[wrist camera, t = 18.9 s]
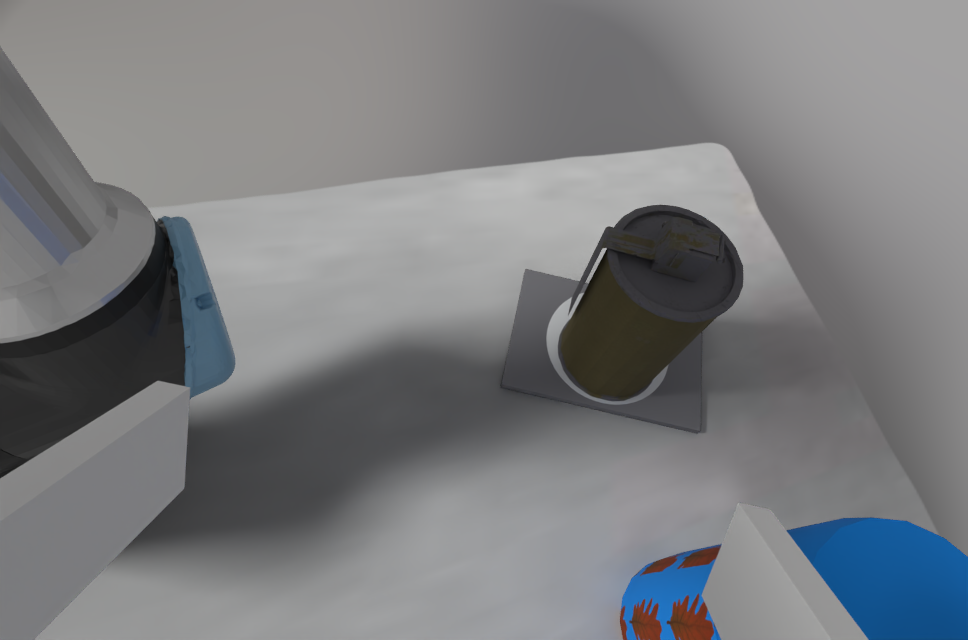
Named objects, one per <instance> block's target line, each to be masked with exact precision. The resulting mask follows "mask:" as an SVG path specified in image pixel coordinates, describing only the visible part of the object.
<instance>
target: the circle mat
mask: <svg viewBox="0 0 968 640" xmlns="http://www.w3.org/2000/svg"><path fill="white" fill-rule="evenodd" d="M578 284H579V281H575V280H571V279H567V278H562V277H558V276H554V275H550V274H545V273H541V272H537V271H532V270H528V269H526V270H525V273H524V278H523V282H522V287H521V292H520V297H519V302H518V306H517V311H516V316H515V321H514V326H513V330H512V335H511V340H510V345H509V350H508V354H507V359H506V364H505V369H504V374H503V378H502V383H501V387H502V388H506V389H511V390H515V391H519V392H523V393H528V394H532V395H536V396H540V397H545V398H549V399H553V400H557V401H562V402H566V403H570V404H574V405H578V406H583V407H587V408H591V409H595V410H600V411H604V412H608V413H612V414H617V415H621V416H625V417H629V418H634V419H638V420H642V421H646V422H651V423H655V424H659V425H663V426H667V427H672V428H676V429H680V430H684V431H689V432H693V433H698V432H700V431H701V368H702V332H701V333H700V334H699V335H698V336H697V337H696V338H695V339H694V340H693V341H692V342H691V343H690V344H689V345H688V346H687V347H686V348H685V349H684V350H683V351H682V352H681V353H679V354H678V355H677V356H676V357H675V358H674V359H673V360H672V361H671V362H670V363H669V364H668V365H667V366H666V367H665V368H664V369H663V370H662V371H661V372H660V373H659V374H658V375H657V376H656V377H655V378H654V379H653V381H652V383H651V384H650V385H649V387H648V388H647V389H646V390H645V391H644V392H642V393H641V394H639V395H638V396H635V397H633V398H630V399H627V400H625V401H607V400H603V399H600V398H595V397H592V396H590V395H588V394H587V393H585V392H584V391H582V390H581V389H579V388H578V387H577V386H576V385H574V384H573V383H572V381H571V380H570V379H569V378H568V376H567V375H566V373H565V372H564V371H563V368H562V365H561V362H560V359H559V356H558V341H559V336H560V333H561V331H562V329H563V327H564V326H565V324H566V323H567V322H568V320H570V319H571V317H572V315H573V313H574V311H575V309H576V307H577V305H578V304H579V302H580V300H581V298H582V296H583V294H584V292H585V290H586V288H587V286H588V283H585V284H584V286H583V288H582V290H581V292H580V293H579V295H578V297H577V299H576V301H575V303H574V305H573V307H572V309H571V311H570V313H569V308H570V304H571V299H572V296H573V294H574V292H575V290H576V288H577V286H578ZM568 313H569V315H568Z"/></svg>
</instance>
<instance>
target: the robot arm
mask: <svg viewBox="0 0 968 640" xmlns="http://www.w3.org/2000/svg"><path fill="white" fill-rule="evenodd" d="M234 368H235V355H234V351H233V348H232V345H231V341H230V338H229V335H228V332H227V329H226V326H225V323H224V320H223V316H222V313H221V310H220V307H219V304H218V301H217V298H216V295H215V292H214V289H213V286H212V284H211V281H210V278H209V275H208V272H207V269H206V266H205V263H204V260H203V257H202V254H201V252H200V249H199V246H198V243H197V240H196V238H195V235H194V232H193V230H192V228H191V226H190V223H189V222H188V221H187V220H186V219H185V218H183V217H172V218H170V217H166V216H164V217H162V218H158V220H157V222H156V221H155V219H154V218H153V216H152V215H151V213H150V211H149V210H148V209H147V207H146V206H145V205H144V204H143V203H142V201H141V200H140V199H139V198H138V197H136V196H135V195H133V194H132V193H131V192H128V191H126V190H124V189H122V188H119V187H116V186H113V185H109V184H104V183H99V182H94V181H93V179H92V178H91V176H90V175H89V173H88V172H87V171H86V169H85V168H84V166H83V165H82V163H81V162H80V160H79V159H78V158H77V156H76V155H75V153H74V152H73V151H72V149H71V147H70V146H69V145H68V143H67V142H66V140H65V139H64V137H63V136H62V134H61V133H60V132H59V130H58V129H57V128H56V126H55V124H54V123H53V121H52V120H51V119H50V117H49V116H48V114H47V113H46V112H45V110H44V109H43V107H42V106H41V104H40V103H39V101H38V100H37V98H36V97H35V96H34V94H33V93H32V91H31V90H30V89H29V87H28V85H27V84H26V83H25V81H24V80H23V78H22V77H21V76H20V74H19V73H18V71H17V70H16V68H15V67H14V65H13V64H12V62H11V61H10V59H9V58H8V57H7V55H6V54H5V52H4V51H3V49H2V48H1V47H0V640H34V639H35V638H36V637H37V636H38V635H39V634H40V633H41V632H42V631H43V630H44V629H45V628H46V627H47V626H48V625H49V624H50V623H51V622H52V621H53V620H54V619H55V618H56V617H57V616H58V615H59V614H60V613H61V612H62V611H63V610H64V609H65V608H66V607H67V606H68V605H69V604H70V603H71V602H72V601H73V600H74V599H75V598H76V597H77V596H78V595H79V594H80V593H81V592H82V591H83V590H84V589H85V588H86V587H87V586H88V585H89V584H90V583H91V582H92V581H93V580H94V579H95V578H96V577H97V576H98V575H99V574H100V573H101V572H102V571H103V570H104V569H105V568H106V567H107V566H108V565H109V564H110V563H111V562H112V561H113V560H114V559H115V558H116V557H117V556H118V555H119V554H120V553H121V552H122V551H123V550H124V549H125V548H126V547H127V546H128V545H129V544H130V543H131V542H132V541H133V540H134V539H135V538H136V537H137V536H138V535H139V534H140V533H141V532H142V531H143V529H144V528H145V527H146V526H147V525H148V524H149V523H150V522H151V521H152V520H153V519H154V518H155V517H156V516H157V515H158V514H159V513H160V512H161V511H162V510H163V509H164V508H165V507H166V506H167V505H168V504H169V503H170V502H171V501H172V500H173V499H174V498H175V497H176V496H177V495H178V494H179V493H180V492H181V491H182V490H183V489H184V488H185V470H186V453H187V436H188V418H189V401H190V399H191V398H192V397H194V396H196V395H198V394H201V393H203V392H205V391H207V390H209V389H211V388H214V387H216V386H218V385H220V384H222V383H224V382H225V381H226V380H227V379H228V378H229V377H230V376H231V375H232V373H233V371H234ZM702 597H703V600H704V602H705V604H706V606H707V609H708V611H709V613H710V615H711V618H712V620H713V622H714V624H715V627H716V629H717V631H718V633H719V636H720V638H721V640H868V638H867V637H866V636H865V634H864V633H863V632H862V630H861V629H860V628H859V626H858V625H857V624H856V622H855V621H854V620H853V618H852V617H851V616H850V614H849V613H848V612H847V610H846V609H845V608H844V606H843V605H842V604H841V602H840V601H839V600H838V598H837V597H836V596H835V594H834V593H833V592H832V591H831V589H830V588H829V587H828V585H827V584H826V583H825V581H824V580H823V579H822V577H821V576H820V575H819V573H818V572H817V571H816V569H815V568H814V567H813V565H812V564H811V563H810V561H809V560H808V559H807V557H806V556H805V555H804V553H803V552H802V551H801V549H800V548H799V547H798V545H797V544H796V543H795V541H794V540H793V539H792V537H791V536H790V535H789V533H788V532H787V531H786V530H785V528H784V527H783V526H782V524H781V523H780V522H779V520H778V519H777V518H776V516H775V515H774V514H773V512H772V511H771V510H770V509H768V508H763V507H758V506H753V505H749V504H744V503H738V505H737V508H736V510H735V513H734V515H733V518H732V520H731V523H730V525H729V528H728V530H727V533H726V535H725V538H724V540H723V543H722V545H721V548H720V550H719V553H718V555H717V558H716V560H715V563H714V565H713V568H712V570H711V573H710V575H709V578H708V580H707V583H706V585H705V588H704V590H703V593H702Z"/></svg>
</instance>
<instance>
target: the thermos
mask: <svg viewBox="0 0 968 640" xmlns="http://www.w3.org/2000/svg"><path fill="white" fill-rule="evenodd" d="M786 531H787V532H788V533H789V535H790V536H791V537H792V539H793V540H794V541H795V543H796V544H797V545H798V547H799V548H800V549H801V551H802V552H803V553H804V555H805V556H806V557H807V559H808V560H809V561H810V563H811V564H812V565H813V567H814V568H815V569H816V571H817V572H818V573H819V575H820V576H821V577H822V579H823V580H824V581H825V583H826V584H827V585H828V587H829V588H830V589H831V591H832V592H833V593H834V594H835V596H836V597H837V598H838V600H839V601H840V602H841V604H842V605H843V606H844V608H845V609H846V610H847V612H848V613H849V614H850V616H851V617H852V618H853V620H854V621H855V622H856V624H857V625H858V626H859V628H860V629H861V630H862V632H863V633H864V634H865V636H866V637H867V638H868V640H968V557H967V556H966V555H965V554H963V553H962V552H961V551H960V550H958V549H957V548H956V547H955V546H954V545H952V544H951V543H950V542H948V541H947V540H946V539H945V538H943V537H941V536H939V535H936V534H934V533H932V532H930V531H928V530H925V529H923V528H921V527H919V526H916V525H914V524H912V523H910V522H908V521H901V520H890V519H880V518H843V519H838V520H833V521H828V522H824V523H819V524H814V525H810V526H805V527H800V528H796V529H791V530H786ZM721 545H722V544H720V545H715V546H711V547H706V548H701V549H697V550H692V551H687V552H683V553H680V554H676V555H673V556H670V557H667V558H664V559H661V560H659V561H656V562H653V563H651V564H648V565H646V566H645V567H644V568H643V569H642V570H640V571H639V572H638V573H637V574H636V575H635V576H634V577H633V578H632V579H631V581H630V583H629V585H628V587H627V589H626V592H625V594H624V596H623V598H622V607H621V616H620V624H621V630H622V635H623V640H721V638H720V636H719V633H718V631H717V629H716V627H715V624H714V622H713V620H712V618H711V615H710V613H709V611H708V609H707V606H706V604H705V602H704V600H703V597H702V593H703V590H704V588H705V585H706V583H707V580H708V578H709V575H710V573H711V570H712V568H713V565H714V563H715V560H716V558H717V555H718V553H719V550H720V548H721Z"/></svg>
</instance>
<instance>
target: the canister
mask: <svg viewBox="0 0 968 640" xmlns="http://www.w3.org/2000/svg"><path fill="white" fill-rule="evenodd" d="M602 248H607V250H606V252H605V254H604V256H603V257H602V259H601V261H600V263H599V265H598V267H597V269H596V271H595V273H594V275H593V277H592V279H591V281H590V282H589V284H588V286H587V288H586V290H585V292H584V294H583V296H582V298H581V300H580V302H579V304H578V305H577V307H576V309H575V311H574V313H573V315H572V317H571V319H570V320H568V322H567V323H566V324H565V326H564V327H563V329H562V331H561V333H560V336H559V341H558V356H559V359H560V362H561V365H562V368H563V371H564V372H565V373H566V375H567V376H568V378H569V379H570V380H571V381H572V383H573V384H574V385H576V386H577V387H578V388H579V389H581V390H582V391H584V392H585V393H587V394H588V395H590V396H592V397H595V398H600V399H603V400H607V401H625V400H627V399H630V398H633V397H635V396H638V395H639V394H641V393H642V392H644V391H645V390H646V389H647V388H648V387H649V385H650V384H651V383H652V381H653V379H654V378H655V377H656V376H657V375H658V374H659V373H660V372H661V371H662V370H663V369H664V368H665V367H666V366H667V365H668V364H669V363H670V362H671V361H672V360H673V359H674V358H675V357H676V356H677V355H678V354H679V353H681V352H682V351H683V350H684V349H685V348H686V347H687V346H688V345H689V344H690V343H691V342H692V341H693V340H694V339H695V338H696V337H697V336H698V335H699V334H700V333H701V332H702V331H703V330H704V329H705V328H706V327H707V326H708V325H709V324H710V323H711V322H712V321H713V320H714V319H715V318H716V317H717V316H719V315H721V314H722V313H724V312H726V311H727V310H728V309H729V308H730V307H731V306H732V305H733V304H734V303H735V301H736V300H737V299H738V297H739V295H740V292H741V289H742V287H743V265H742V263H741V260H740V258H739V255H738V253H737V250H736V248H735V247H734V245H733V244H732V242H731V241H730V240H729V238H728V237H727V236H726V235H725V234H724V233H723V232H722V231H721V230H720V229H719V228H718V227H717V226H716V225H715V224H713V223H712V222H710V221H709V220H707V219H706V218H704V217H703V216H701V215H699V214H696V213H694V212H692V211H690V210H687V209H684V208H680V207H676V206H669V205H652V206H647V207H643V208H639V209H636V210H634V211H632V212H630V213H629V214H627V215H625V216H624V217H623V218H622V219H621V220H620V221H619V222H618V223H617V224H616V225H615V227H614V228H613V227H606V229H605V231H604V233H603V235H602V237H601V239H600V241H599V243H598V245H597V247H596V249H595V251H594V253H593V255H592V257H591V259H590V261H589V264H588V266H587V268H586V270H585V272H584V274H583V276H582V278H581V280H580V282H579V284H578V286H577V288H576V290H575V292H574V294H573V296H572V299H571V304H570V308H569V313H570V311H571V309H572V307H573V305H574V303H575V301H576V299H577V297H578V295H579V293H580V292H581V290H582V288H583V286H584V284H585V282H586V280H587V278H588V276H589V274H590V272H591V270H592V268H593V266H594V264H595V262H596V260H597V258H598V256H599V254H600V252H601V250H602ZM569 313H568V315H569Z"/></svg>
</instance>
